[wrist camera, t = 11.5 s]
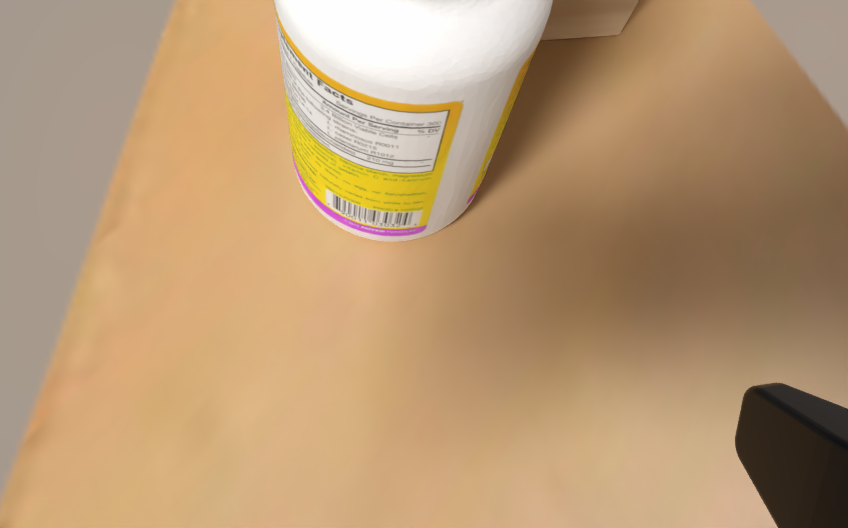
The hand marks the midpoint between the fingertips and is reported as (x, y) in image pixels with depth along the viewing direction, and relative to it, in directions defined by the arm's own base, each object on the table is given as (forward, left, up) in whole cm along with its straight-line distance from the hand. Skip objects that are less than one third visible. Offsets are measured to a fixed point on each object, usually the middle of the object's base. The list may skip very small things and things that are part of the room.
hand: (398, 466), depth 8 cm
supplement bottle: (+11, -3, -14) cm, 18 cm away
